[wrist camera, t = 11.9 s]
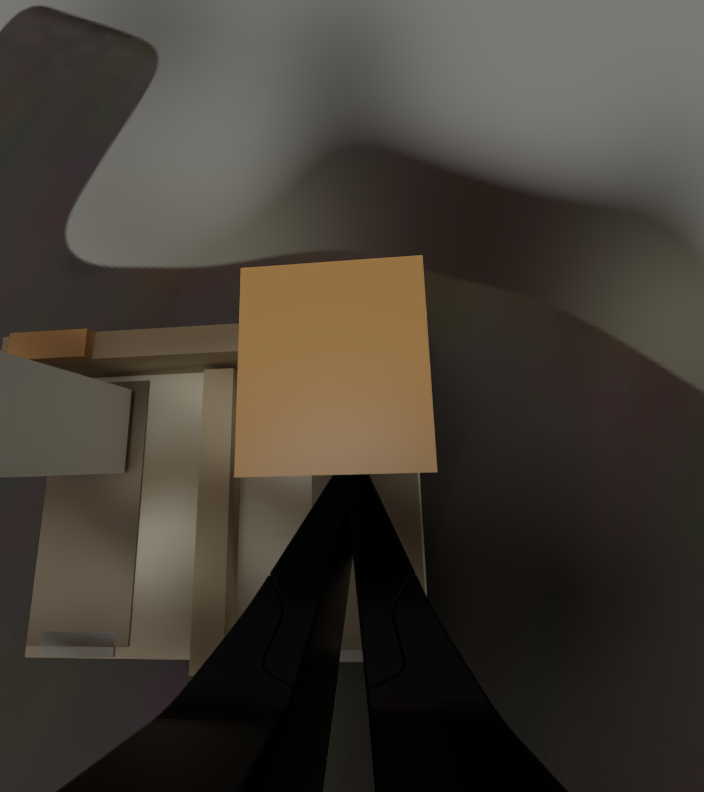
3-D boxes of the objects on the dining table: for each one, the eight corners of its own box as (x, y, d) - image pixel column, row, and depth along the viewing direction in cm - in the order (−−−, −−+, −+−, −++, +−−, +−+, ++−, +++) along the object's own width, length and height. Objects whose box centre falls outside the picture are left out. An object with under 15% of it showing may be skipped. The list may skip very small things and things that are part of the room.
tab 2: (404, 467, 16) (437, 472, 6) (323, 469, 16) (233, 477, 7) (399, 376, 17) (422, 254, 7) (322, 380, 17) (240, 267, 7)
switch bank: (428, 653, 16) (445, 720, 12) (41, 648, 17) (-68, 707, 13) (410, 343, 18) (418, 308, 14) (75, 361, 20) (-7, 334, 16)
